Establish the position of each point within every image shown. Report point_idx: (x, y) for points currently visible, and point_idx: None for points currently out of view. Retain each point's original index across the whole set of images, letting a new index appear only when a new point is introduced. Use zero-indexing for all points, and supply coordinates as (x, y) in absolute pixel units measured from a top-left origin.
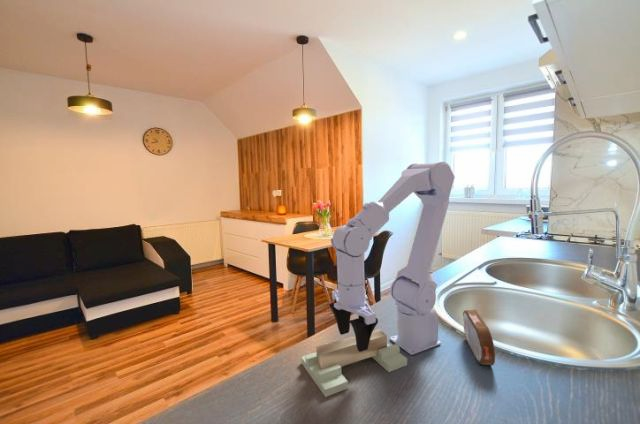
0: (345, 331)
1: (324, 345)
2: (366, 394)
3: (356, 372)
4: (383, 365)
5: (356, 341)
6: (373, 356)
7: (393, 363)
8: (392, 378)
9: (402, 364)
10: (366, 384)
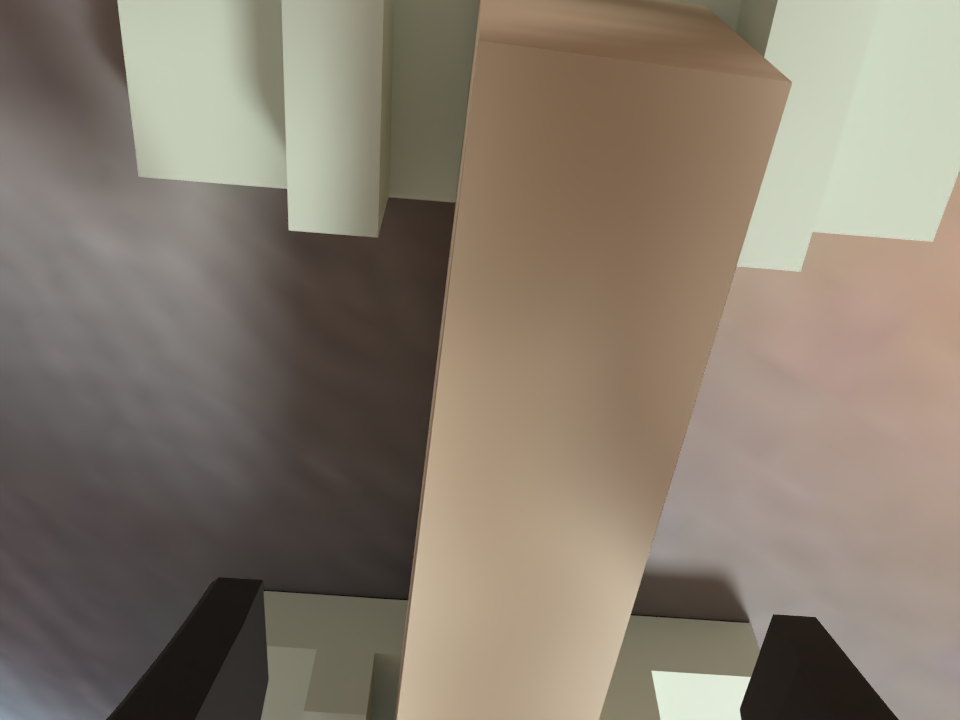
0: (763, 699)
1: (707, 250)
2: (5, 254)
3: (368, 369)
4: (292, 609)
5: (185, 695)
6: None
7: None
8: (126, 561)
9: None
10: (147, 341)
